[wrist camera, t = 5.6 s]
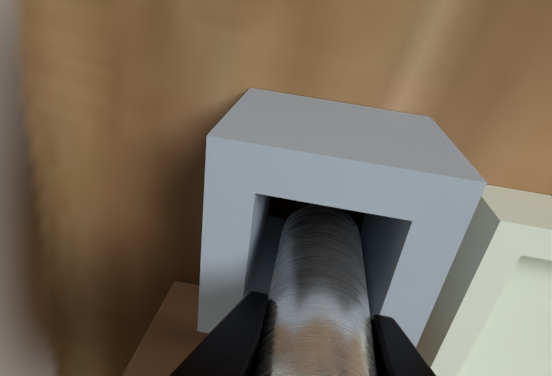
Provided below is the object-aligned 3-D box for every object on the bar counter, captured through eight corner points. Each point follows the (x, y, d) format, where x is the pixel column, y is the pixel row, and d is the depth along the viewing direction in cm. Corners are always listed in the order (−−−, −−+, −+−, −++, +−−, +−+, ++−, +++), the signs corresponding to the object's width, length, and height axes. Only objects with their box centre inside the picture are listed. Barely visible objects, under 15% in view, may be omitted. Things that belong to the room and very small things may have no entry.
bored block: (383, 262, 15) (405, 372, 11) (235, 235, 15) (197, 331, 11) (430, 117, 12) (486, 182, 8) (250, 87, 13) (206, 135, 8)
